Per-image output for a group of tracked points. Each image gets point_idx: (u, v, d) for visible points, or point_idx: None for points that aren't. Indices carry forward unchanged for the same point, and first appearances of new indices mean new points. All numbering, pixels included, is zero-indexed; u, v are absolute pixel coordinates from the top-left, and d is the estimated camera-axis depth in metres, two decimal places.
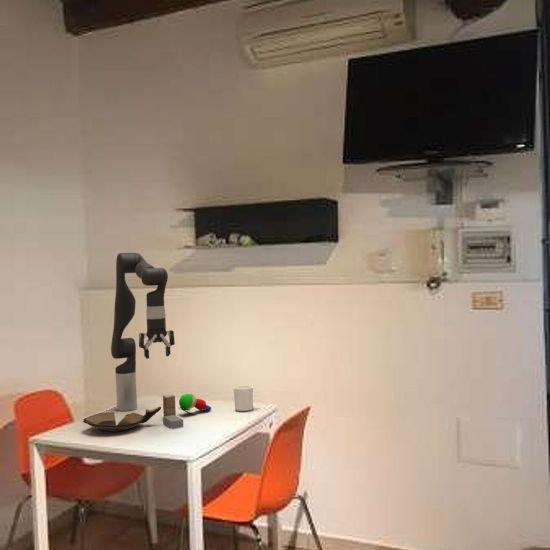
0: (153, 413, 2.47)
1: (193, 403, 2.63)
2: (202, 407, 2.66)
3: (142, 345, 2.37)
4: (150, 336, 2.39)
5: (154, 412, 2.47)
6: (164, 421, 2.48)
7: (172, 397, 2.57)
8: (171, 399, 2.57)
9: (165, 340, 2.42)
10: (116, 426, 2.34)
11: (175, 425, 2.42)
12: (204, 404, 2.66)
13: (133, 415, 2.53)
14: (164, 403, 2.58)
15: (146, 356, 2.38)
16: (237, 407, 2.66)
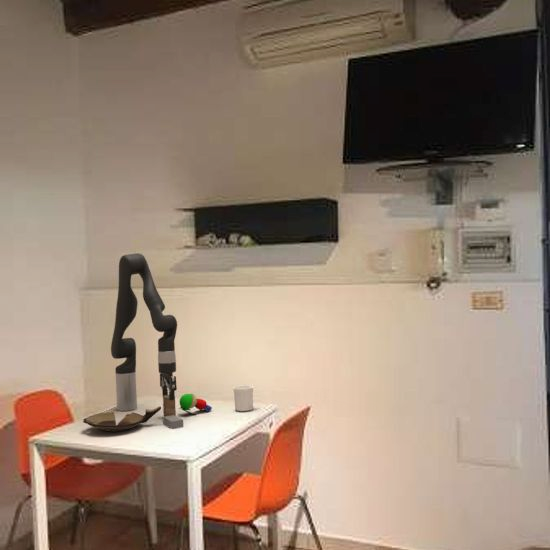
0: (153, 413, 2.47)
1: (193, 403, 2.63)
2: (202, 407, 2.66)
3: None
4: None
5: (154, 412, 2.47)
6: (164, 421, 2.48)
7: None
8: None
9: None
10: (116, 426, 2.34)
11: (175, 425, 2.42)
12: (204, 404, 2.67)
13: (133, 415, 2.53)
14: (164, 403, 2.58)
15: (174, 398, 2.54)
16: (237, 407, 2.66)
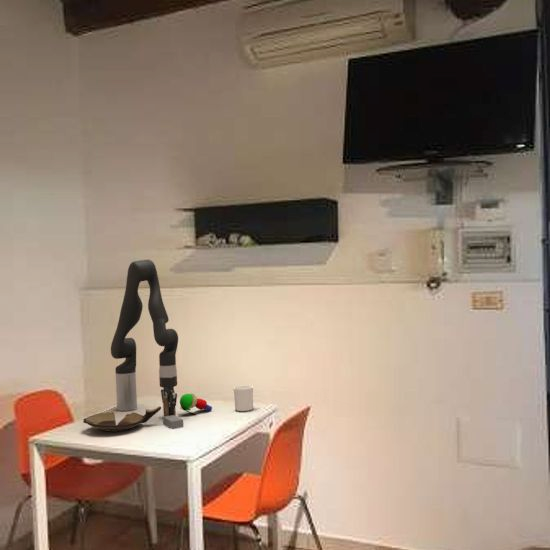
0: (153, 413, 2.47)
1: (194, 403, 2.63)
2: (203, 407, 2.66)
3: None
4: None
5: (154, 412, 2.47)
6: (164, 421, 2.48)
7: None
8: None
9: None
10: (116, 426, 2.34)
11: (175, 425, 2.42)
12: (205, 404, 2.67)
13: (133, 415, 2.53)
14: (164, 403, 2.58)
15: (173, 413, 2.56)
16: (237, 407, 2.66)
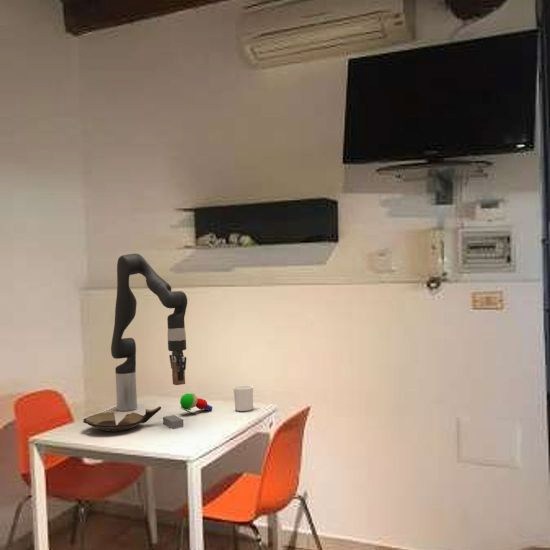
0: (153, 413, 2.47)
1: (194, 403, 2.63)
2: (203, 407, 2.67)
3: None
4: None
5: (154, 412, 2.47)
6: (164, 421, 2.48)
7: None
8: None
9: None
10: (116, 426, 2.34)
11: (175, 425, 2.42)
12: (205, 404, 2.67)
13: (133, 415, 2.53)
14: (173, 368, 2.48)
15: (182, 378, 2.47)
16: (237, 407, 2.66)
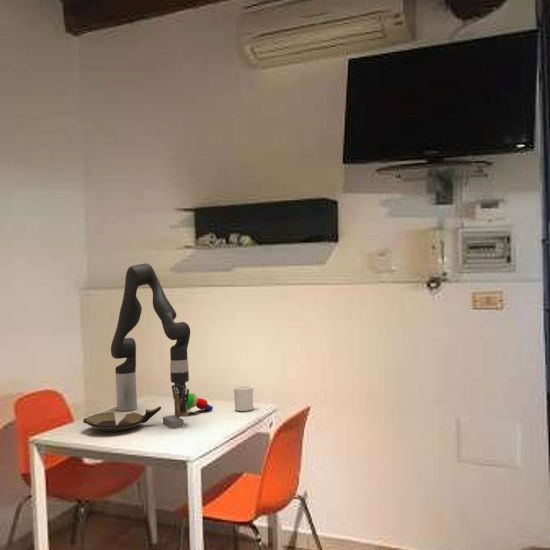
0: (153, 413, 2.47)
1: (194, 402, 2.64)
2: (203, 407, 2.67)
3: None
4: None
5: (154, 412, 2.47)
6: (164, 421, 2.48)
7: None
8: None
9: None
10: (116, 426, 2.34)
11: (175, 425, 2.42)
12: (205, 404, 2.67)
13: (133, 415, 2.53)
14: (175, 399, 2.48)
15: (185, 410, 2.46)
16: (237, 407, 2.66)
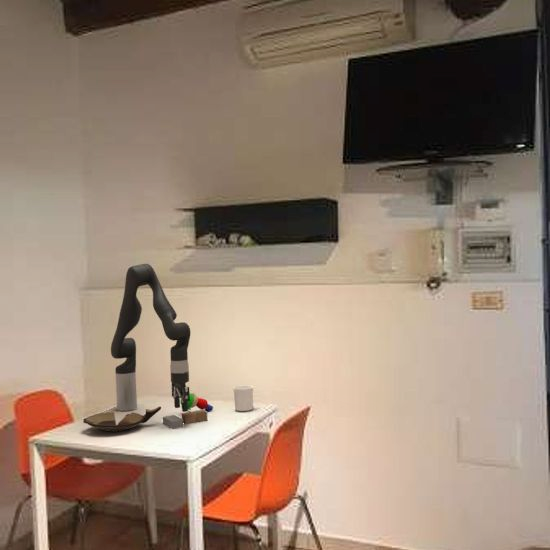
0: (153, 413, 2.47)
1: (194, 402, 2.64)
2: (203, 406, 2.67)
3: None
4: None
5: (154, 412, 2.47)
6: (164, 421, 2.48)
7: (206, 418, 2.52)
8: (204, 417, 2.52)
9: None
10: (116, 426, 2.34)
11: (175, 425, 2.42)
12: (205, 403, 2.67)
13: (133, 415, 2.53)
14: (198, 411, 2.53)
15: (187, 409, 2.45)
16: (237, 407, 2.66)
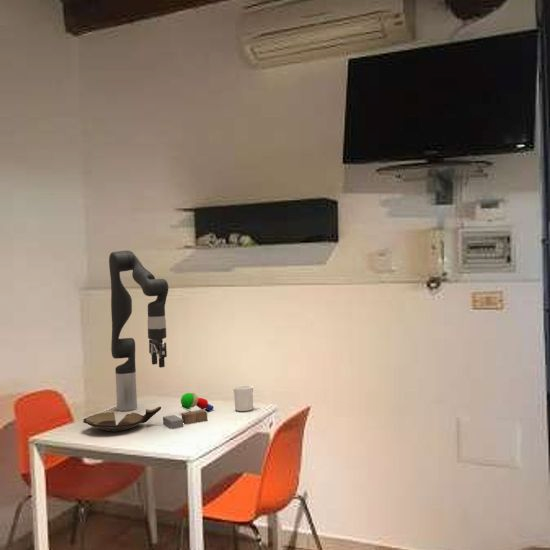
0: (153, 413, 2.47)
1: (194, 402, 2.64)
2: (204, 406, 2.67)
3: None
4: None
5: (154, 412, 2.47)
6: (164, 421, 2.48)
7: (206, 418, 2.52)
8: (204, 417, 2.52)
9: None
10: (116, 426, 2.34)
11: (175, 425, 2.42)
12: (206, 403, 2.68)
13: (133, 415, 2.53)
14: (198, 411, 2.53)
15: (164, 365, 2.44)
16: (237, 407, 2.66)
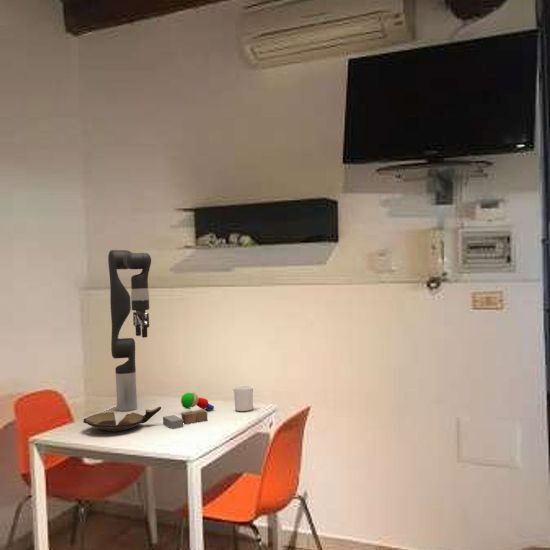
0: (153, 413, 2.47)
1: (194, 402, 2.65)
2: (204, 406, 2.68)
3: None
4: None
5: (154, 412, 2.47)
6: (164, 421, 2.48)
7: (206, 418, 2.52)
8: (204, 417, 2.52)
9: None
10: (116, 426, 2.34)
11: (175, 425, 2.42)
12: (206, 403, 2.68)
13: (133, 415, 2.53)
14: (198, 411, 2.53)
15: (146, 335, 2.54)
16: (237, 407, 2.66)
